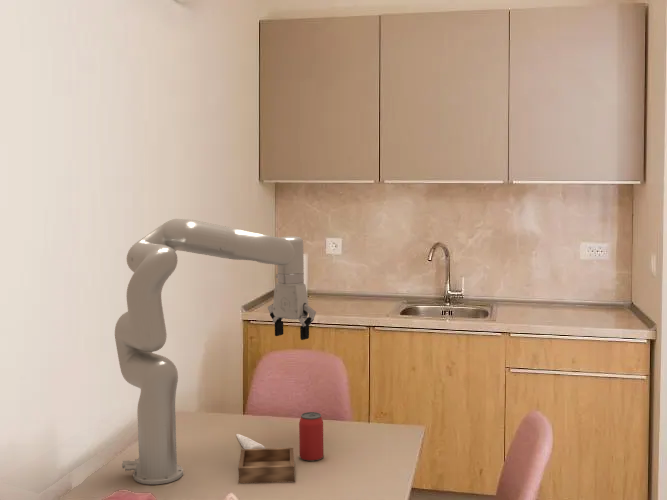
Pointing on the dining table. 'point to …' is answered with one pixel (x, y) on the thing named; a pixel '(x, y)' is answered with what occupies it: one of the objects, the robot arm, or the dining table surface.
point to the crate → (266, 465)
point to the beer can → (311, 436)
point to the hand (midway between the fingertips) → (291, 337)
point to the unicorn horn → (249, 443)
